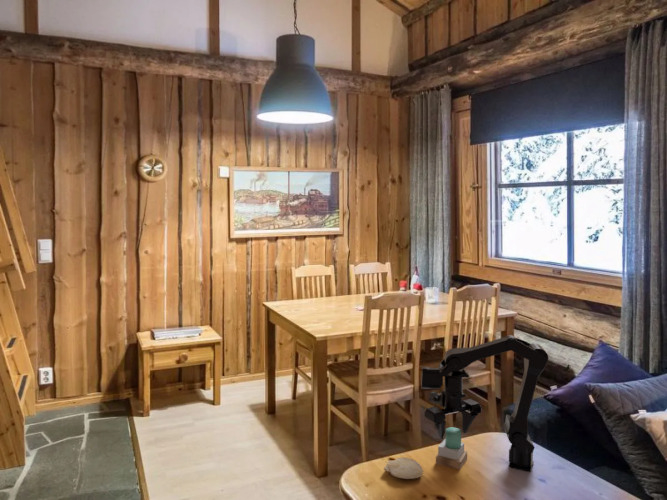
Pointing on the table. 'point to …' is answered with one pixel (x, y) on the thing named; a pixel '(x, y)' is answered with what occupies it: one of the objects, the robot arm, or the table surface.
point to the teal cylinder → (453, 438)
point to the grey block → (450, 451)
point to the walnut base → (452, 461)
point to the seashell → (404, 468)
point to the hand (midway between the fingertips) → (452, 435)
